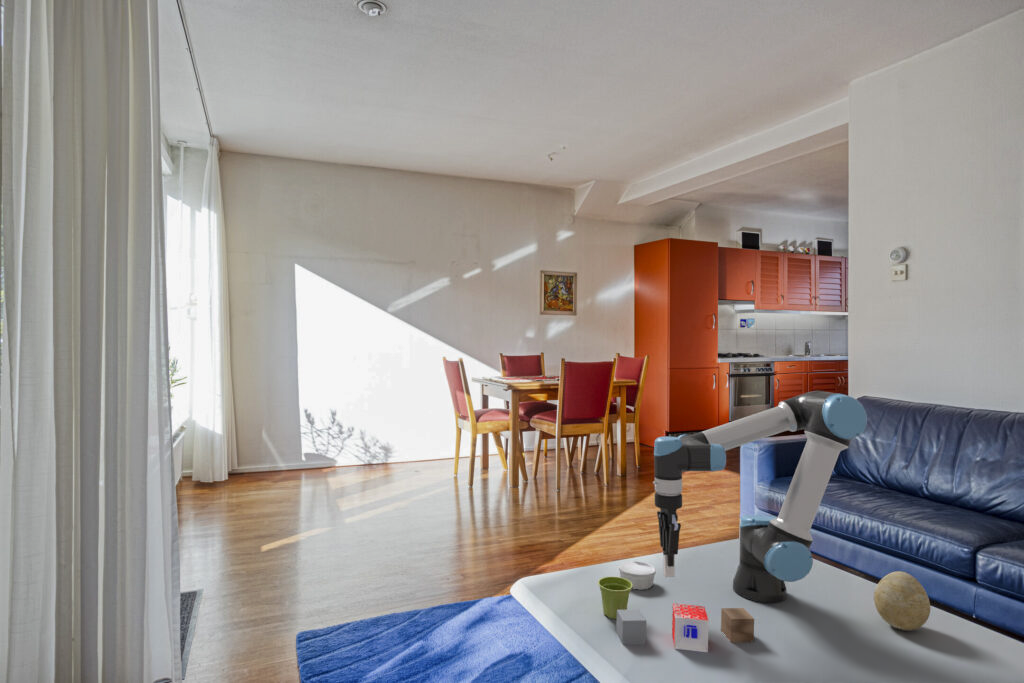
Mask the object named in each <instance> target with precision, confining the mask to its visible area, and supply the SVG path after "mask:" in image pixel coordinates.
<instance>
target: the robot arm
mask: <svg viewBox="0 0 1024 683" xmlns="http://www.w3.org/2000/svg"><path fill="white" fill-rule="evenodd" d="M867 423H868V416H867V411H866V409H865V407H864V406H863V404H862V403H861V402H860V401H859V400H858V399H856V398H854V397H853V396H849V395H847V394H842V393H841V392H840V393H838V392H836V393H835V392H829V391H825V390H813V391H808V392H805V393H802V394H799V395H796V396H793V397H790V398H788V399H785V400H781V401H779V402H778V405H777V406H775V407H772V408H768V409H765V410H763V411H760V412H757V413H753V414H750V415H748V416H745V417H742V418H738V419H736V420H733V421H730V422H727V423H724V424H722V425H718V426H715V427H712V428H709V429H706V430H703V431H700V432H696V433H693V434H681V435H678V436H677V437H676V436H659V437H657V438H656V439H655V440H654V444H653V445H654V447H653V449H654V450H653V459H654V460H653V461H654V462H653V464H654V481H652V484H653V485H654V491H655V492H654V506H655V507H656V508H658V509H660V510H659V511H658V510H657V512H656V515H657V520H658V531H659V532H658V533H659V534H658V535H659V543H660V547H661V548H662V555H663V562H662V563H663V564H662V565H663V577H664V578H675V575H676V572H675V571H676V570H675V567H676V565H675V564H676V563H675V562H676V561H675V556H676V555H678V554H679V545H680V544H679V542H680V531H681V528H682V525H681V523H680V522H679V523H678V520H679V517H678V514H677V510H678V509H681V508H682V507H683V494H682V492H683V472H711V473H713V472H718V471H719V472H720V471H723V470H724V469H726V468H725V467H726V465H727V453H726V452H727V451H729V450H732V449H734V448H737V447H740V446H743V445H747V444H751V443H753V442H756V441H759V440H762V439H765V438H768V437H771V436H774V435H778V434H780V433H783V432H787V431H789V432H792V433H793V432H797V431H800V430H804V434H805V436H806V439H807V440H806V442H805V445H804V448H803V451H802V453H801V455H800V458H799V461H798V464H797V466H796V468H795V471H794V474H793V477H792V479H791V482H790V484H789V487H788V489H787V493H786V495H785V497H784V499H783V502H782V505H781V508H780V511H779V513H778V515H777V517H775V516H770V515H759V514H748V515H744V516H742V517H741V519H740V524H739V564H738V567H737V568H736V572H735V574H734V577H733V581H732V589H733V592H735V594H737V595H739V596H740V597H742V598H744V599H747V598H748V600H750V599H751V601H754V600H755V601H754V602H759V601H760V603H766V602H768V603H767V604H771V602H772V603H773V604H774V603H775V602H776V603H780V601H781V602H783V600H784V601H785V600H786V599H787V596H788V595H787V592H788V591H787V586H786V582H788V583H793V582H794V583H795V582H797V581H799V580H802V579H804V578H805V577H807V575H809V573H810V571H811V570H812V568H813V566H814V565H813V564H814V560H813V559H814V558H813V556H812V553H811V550H810V548H811V546H812V544H813V540H814V538H813V536H812V534H811V532H810V531H811V528H812V526H813V523H814V520H815V518H816V515H817V513H818V511H819V510H818V509H819V507H820V505H821V502H822V500H823V497H824V495H825V492H826V489H827V487H828V484H829V482H830V478H831V477H832V473H833V472H834V468H835V466H836V463H837V461H838V459H839V455H840V453H841V452H842V451H844V450H847V449H849V447H850V444H851V443H852V439H855V438H857V437H858V436H860V435H862V434H863V433H864V432H865V430H866V428H867Z"/></svg>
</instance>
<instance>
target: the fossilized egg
mask: <svg viewBox="0 0 1024 683" xmlns="http://www.w3.org/2000/svg"><path fill="white" fill-rule="evenodd" d="M873 601H874V606H875V608H876V611H877V613H878V614H879V615H880V617H881V619H882V620H884V621H885V622H886V623H887V624H888V625H890V626H891V627H893V628H895V629H897V628H898V629H897V630H900V629H902V630H901V631H914V630H917V629H919V628H921V627H922V626H924V625H925V624H927V623H926V622H928V619H929V617H930V614H931V603H930V599H929V595H928V593H927V592H926V589H925V588H924V587H923V585H922V584H921V583H920V582H919V580H918V579H917V578H916V577H914V576H912V575H911V574H909V572H908V573H907V572H904V571H901V570H900V571H899V570H898V571H893V572H889V573H888V574H886V575H885V576H884V577H882V578H881V579H880V581H879V582H878V583H877V585H876V587H875V590H874V594H873Z"/></svg>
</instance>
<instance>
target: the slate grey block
mask: <svg viewBox="0 0 1024 683" xmlns="http://www.w3.org/2000/svg"><path fill="white" fill-rule="evenodd" d="M615 630H616V635H617V637H618V638H619V640H620V642H621V644H622V645H644V644H645V645H646V644H647V620H646V618H645V616H644V615H643V612H642V611H641V609H627V610H617V619H616V629H615Z"/></svg>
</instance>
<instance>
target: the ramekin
mask: <svg viewBox="0 0 1024 683" xmlns="http://www.w3.org/2000/svg"><path fill="white" fill-rule="evenodd" d="M618 571H619V577H621V578H624V579H627V580H629V581H630V582H631V583H632V584H633V587H632V589H631V590H635V589H638V590H637V591H644V590H643V589H646V590H648V588H649V589H650V588H651V587H652V586H653V584H654V580H655V575H656V573H657V572H656V568H655V567H654V566H653V565H652V564H649V563H646V562H641V561H631V560H629V561H624V562H621V563H620V564H619V565H618Z"/></svg>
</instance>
